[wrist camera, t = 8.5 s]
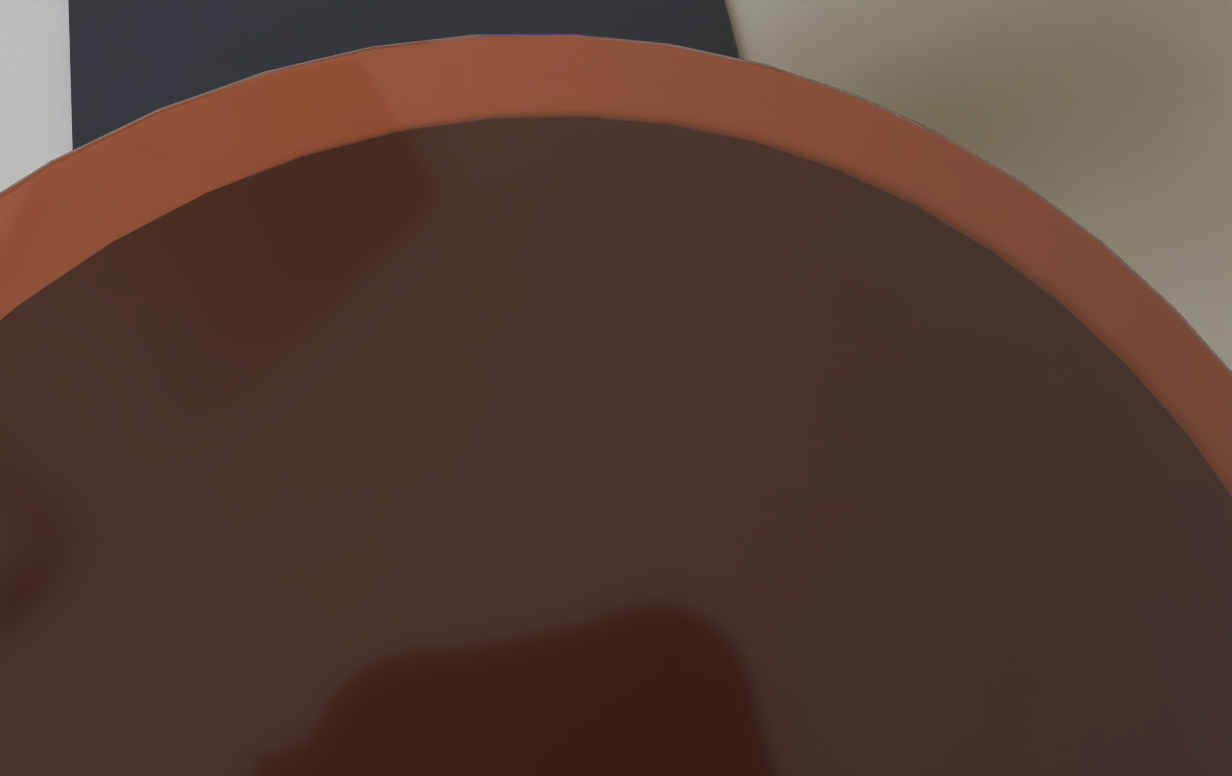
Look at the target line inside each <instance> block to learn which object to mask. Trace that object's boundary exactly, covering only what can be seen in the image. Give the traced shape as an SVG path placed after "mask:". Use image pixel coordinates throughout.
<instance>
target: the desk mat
mask: <svg viewBox="0 0 1232 776" xmlns="http://www.w3.org/2000/svg"><path fill="white" fill-rule="evenodd" d="M69 32H70V68H71V105H72V141H73V150H75V149H77V148H79V147H81V146H83V145H85V144H87V143H89V142H91V141H93V140H95V139H97V138H99V137H102V136H104V135H106V134H108V133H110V132H112V131H114V130H116V129H118V128H120V127H122V126H124V125H126V124H128V123H131V122H133V121H135V120H137V119H139V118H141V117H143V116H145V115H147V114H149V113H151V112H153V111H155V110H157V109H160V108H163V107H166V106H169V105H171V104H174V103H177V102H180V101H183V100H186V99H188V98H191V97H194V96H197V95H200V94H202V93H205V92H208V91H211V90H214V89H217V88H219V87H222V86H225V85H228V84H231V83H234V82H236V81H239V80H242V79H245V78H248V77H251V76H253V75H256V74H259V73H262V72H265V71H269V70H273V69H277V68H282V67H286V66H290V65H294V64H299V63H303V62H307V61H312V60H316V59H320V58H324V57H329V56H333V55H337V54H342V53H346V52H350V51H354V50H359V49H363V48H367V47H372V46H381V45H389V44H398V43H406V42H414V41H423V40H431V39H440V38H448V37H457V36H465V35H473V34H582V35H591V36H601V37H610V38H620V39H630V40H639V41H649V42H659V43H668V44H674V45H679V46H684V47H688V48H693V49H697V50H702V51H707V52H711V53H716V54H720V55H725V56H730V57H734V58H739V55H738V51H737V47H736V44H735V40H734V36H733V32H732V28H731V25H730V21H729V17H728V13H727V10H726V6H725V2H724V0H69Z"/></svg>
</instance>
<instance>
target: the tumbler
mask: <svg viewBox="0 0 1232 776" xmlns="http://www.w3.org/2000/svg"><path fill="white" fill-rule="evenodd" d="M0 776H1232V371H1231V370H1230V369H1229V368H1228V367H1227V366H1226V364H1225V363H1224V362H1223V361H1222V360H1221V359H1220V358H1219V357H1218V356H1217V354H1216V353H1215V352H1214V351H1213V350H1212V349H1211V348H1210V347H1209V345H1208V344H1207V343H1206V342H1205V341H1204V340H1203V339H1202V338H1201V336H1200V335H1199V334H1198V333H1197V332H1196V331H1195V330H1194V329H1193V327H1192V326H1191V325H1190V324H1189V323H1188V322H1187V321H1186V320H1185V319H1184V317H1183V316H1182V315H1181V314H1180V313H1179V312H1178V311H1177V310H1176V308H1174V307H1173V306H1172V305H1171V304H1170V303H1169V302H1168V301H1167V300H1166V299H1165V298H1164V297H1162V296H1161V295H1160V294H1159V293H1158V292H1157V291H1156V290H1155V289H1154V288H1153V287H1152V286H1150V285H1149V284H1148V283H1147V282H1146V281H1145V280H1144V279H1143V278H1142V277H1141V276H1140V275H1138V274H1137V273H1136V272H1135V271H1134V270H1133V269H1132V268H1131V267H1130V266H1129V265H1128V264H1126V263H1125V262H1124V261H1123V260H1122V259H1121V258H1120V257H1119V256H1118V255H1117V254H1116V253H1115V252H1113V251H1112V250H1111V249H1110V248H1109V247H1108V246H1107V245H1106V244H1105V243H1104V242H1103V241H1101V240H1100V239H1099V238H1097V237H1096V236H1095V235H1093V234H1092V233H1091V232H1089V231H1088V230H1086V229H1085V228H1084V227H1082V226H1081V225H1080V224H1078V223H1077V222H1076V221H1074V220H1073V219H1072V218H1070V217H1069V216H1068V215H1066V214H1065V213H1064V212H1062V211H1061V210H1060V209H1058V208H1057V207H1056V206H1054V205H1053V204H1052V203H1050V202H1049V201H1048V200H1046V199H1045V198H1044V197H1042V196H1041V195H1040V194H1038V193H1037V192H1035V191H1034V190H1033V189H1031V188H1030V187H1029V186H1027V185H1026V184H1025V183H1023V182H1022V181H1020V180H1018V179H1017V178H1015V177H1013V176H1011V175H1010V174H1008V173H1006V172H1005V171H1003V170H1001V169H1000V168H998V167H996V166H995V165H993V164H991V163H990V162H988V161H986V160H985V159H983V158H981V157H979V156H978V155H976V154H974V153H973V152H971V151H969V150H968V149H966V148H964V147H963V146H961V145H959V144H958V143H956V142H954V141H953V140H951V139H949V138H948V137H946V136H944V135H942V134H941V133H938V132H936V131H934V130H932V129H930V128H927V127H925V126H923V125H921V124H919V123H917V122H914V121H912V120H910V119H908V118H906V117H904V116H901V115H899V114H897V113H895V112H893V111H890V110H888V109H886V108H884V107H882V106H880V105H877V104H875V103H873V102H871V101H869V100H866V99H864V98H862V97H860V96H858V95H856V94H853V93H850V92H847V91H844V90H841V89H838V88H835V87H832V86H829V85H826V84H823V83H820V82H817V81H814V80H811V79H808V78H805V77H802V76H799V75H796V74H793V73H790V72H787V71H784V70H781V69H778V68H775V67H772V66H769V65H766V64H762V63H757V62H753V61H748V60H744V59H739V58H734V57H730V56H725V55H720V54H716V53H711V52H707V51H702V50H697V49H693V48H688V47H684V46H679V45H674V44H668V43H659V42H649V41H639V40H630V39H620V38H610V37H601V36H591V35H582V34H473V35H465V36H457V37H448V38H440V39H431V40H423V41H414V42H406V43H398V44H389V45H381V46H372V47H367V48H363V49H359V50H354V51H350V52H346V53H342V54H337V55H333V56H329V57H324V58H320V59H316V60H312V61H307V62H303V63H299V64H294V65H290V66H286V67H282V68H277V69H273V70H269V71H265V72H262V73H259V74H256V75H253V76H251V77H248V78H245V79H242V80H239V81H236V82H234V83H231V84H228V85H225V86H222V87H219V88H217V89H214V90H211V91H208V92H205V93H202V94H200V95H197V96H194V97H191V98H188V99H186V100H183V101H180V102H177V103H174V104H171V105H169V106H166V107H163V108H160V109H157V110H155V111H153V112H151V113H149V114H147V115H145V116H143V117H141V118H139V119H137V120H135V121H133V122H131V123H128V124H126V125H124V126H122V127H120V128H118V129H116V130H114V131H112V132H110V133H108V134H106V135H104V136H102V137H99V138H97V139H95V140H93V141H91V142H89V143H87V144H85V145H83V146H81V147H79V148H77V149H75V150H73V151H70V152H68V153H66V154H64V155H62V156H60V157H58V158H56V159H54V160H52V161H50V162H48V163H46V164H45V165H43V166H42V167H40V168H39V169H37V170H35V171H34V172H32V173H31V174H29V175H27V176H26V177H24V178H23V179H21V180H19V181H18V182H16V183H15V184H13V185H11V186H10V187H8V188H7V189H5V190H3V191H2V192H0Z"/></svg>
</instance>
